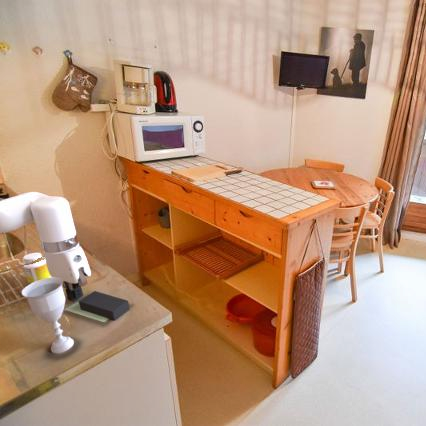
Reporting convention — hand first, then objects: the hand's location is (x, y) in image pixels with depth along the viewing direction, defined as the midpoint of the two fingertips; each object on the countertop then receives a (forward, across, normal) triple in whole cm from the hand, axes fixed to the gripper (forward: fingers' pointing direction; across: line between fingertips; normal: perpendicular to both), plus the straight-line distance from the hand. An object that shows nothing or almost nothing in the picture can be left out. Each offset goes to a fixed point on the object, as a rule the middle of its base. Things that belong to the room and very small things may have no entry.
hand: (76, 298), depth 92 cm
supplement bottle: (+2, +18, -2) cm, 18 cm away
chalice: (+2, -12, +14) cm, 18 cm away
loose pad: (+1, -8, 0) cm, 8 cm away
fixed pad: (+1, -14, 0) cm, 14 cm away
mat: (+1, -8, 0) cm, 8 cm away
